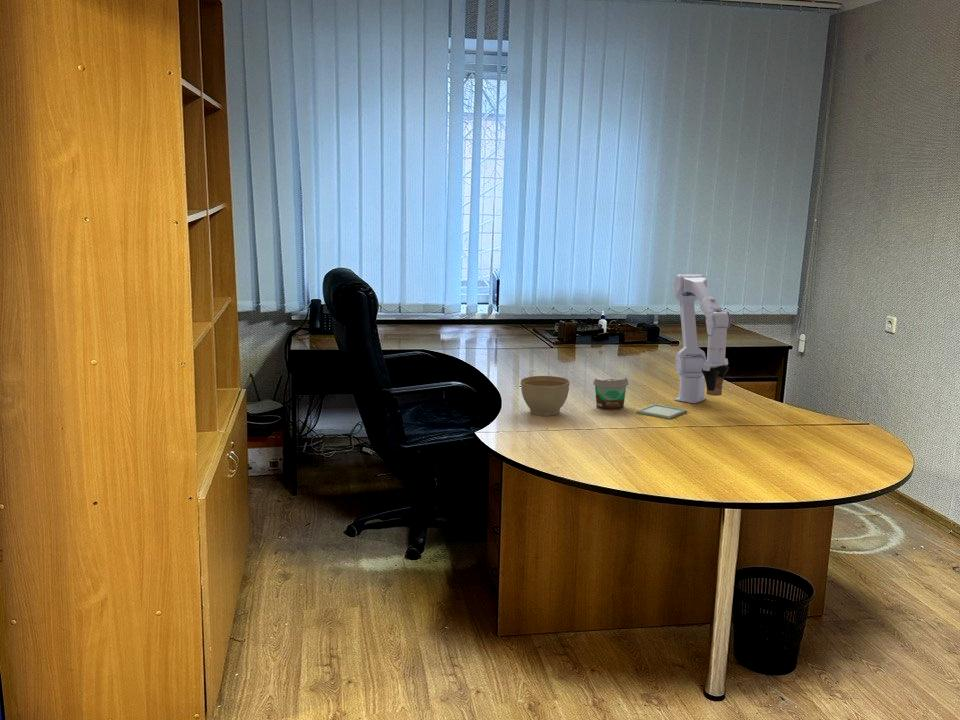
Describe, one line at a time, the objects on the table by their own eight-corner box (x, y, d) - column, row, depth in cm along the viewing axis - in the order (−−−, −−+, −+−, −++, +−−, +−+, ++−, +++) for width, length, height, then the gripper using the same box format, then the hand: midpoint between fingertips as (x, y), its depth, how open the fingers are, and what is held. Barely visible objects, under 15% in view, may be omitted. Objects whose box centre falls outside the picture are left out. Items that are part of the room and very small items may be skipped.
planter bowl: (538, 404, 303) (539, 373, 301) (578, 412, 293) (579, 380, 291) (510, 413, 290) (510, 380, 288) (550, 421, 280) (551, 388, 278)
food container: (599, 411, 293) (600, 382, 291) (592, 407, 299) (593, 378, 297) (633, 409, 297) (634, 380, 295) (625, 405, 302) (627, 376, 300)
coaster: (654, 406, 301) (654, 403, 301) (686, 412, 294) (686, 409, 294) (636, 412, 292) (636, 410, 292) (669, 419, 285) (669, 416, 285)
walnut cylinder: (710, 391, 294) (711, 375, 293) (724, 393, 291) (725, 377, 290) (704, 394, 290) (705, 377, 289) (717, 396, 287) (718, 379, 286)
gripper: (718, 352, 280) (716, 394, 282) (737, 346, 291) (734, 387, 293) (697, 350, 284) (695, 391, 287) (717, 344, 295) (714, 383, 298)
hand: (714, 388), depth 290 cm, fingers closed on walnut cylinder, 5 cm apart
